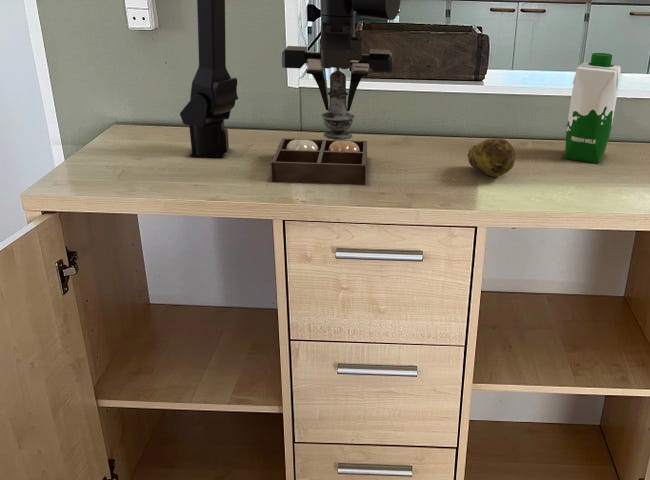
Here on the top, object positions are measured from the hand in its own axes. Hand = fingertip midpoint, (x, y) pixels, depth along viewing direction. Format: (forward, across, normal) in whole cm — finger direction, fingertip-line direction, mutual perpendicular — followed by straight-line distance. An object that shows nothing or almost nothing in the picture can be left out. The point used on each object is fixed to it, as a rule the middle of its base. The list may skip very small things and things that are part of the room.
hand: (337, 110), depth 135 cm
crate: (+12, -3, +4) cm, 13 cm away
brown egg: (+12, +1, +8) cm, 15 cm away
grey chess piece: (+5, 0, 0) cm, 5 cm away
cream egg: (+12, -7, +8) cm, 16 cm away
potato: (+12, +29, +3) cm, 31 cm away
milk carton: (+12, +51, +19) cm, 55 cm away
